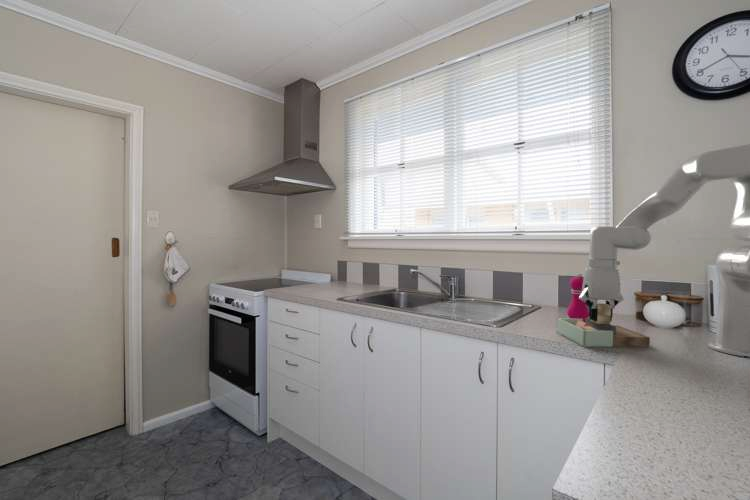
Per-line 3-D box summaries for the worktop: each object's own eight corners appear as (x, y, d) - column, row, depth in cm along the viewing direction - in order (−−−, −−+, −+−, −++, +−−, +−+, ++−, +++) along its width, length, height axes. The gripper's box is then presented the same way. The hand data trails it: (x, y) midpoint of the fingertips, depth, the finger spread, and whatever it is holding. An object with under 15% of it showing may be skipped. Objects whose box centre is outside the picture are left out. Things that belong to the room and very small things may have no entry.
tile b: (584, 323, 119) (578, 320, 119) (592, 326, 115) (585, 322, 115) (578, 333, 119) (572, 329, 119) (585, 337, 115) (579, 333, 115)
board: (617, 334, 121) (618, 325, 121) (649, 347, 107) (649, 337, 107) (583, 333, 121) (583, 325, 121) (610, 346, 107) (610, 336, 107)
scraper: (595, 325, 119) (596, 301, 119) (617, 334, 108) (618, 307, 108) (583, 325, 119) (584, 300, 119) (604, 334, 108) (605, 307, 108)
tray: (581, 332, 122) (582, 318, 122) (612, 347, 106) (613, 331, 106) (556, 332, 122) (556, 318, 122) (583, 347, 106) (584, 330, 106)
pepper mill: (592, 327, 129) (594, 274, 128) (573, 327, 129) (575, 273, 128) (581, 322, 136) (583, 272, 135) (563, 322, 136) (564, 271, 136)
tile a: (589, 325, 113) (581, 326, 113) (596, 329, 109) (588, 330, 109) (590, 338, 113) (582, 338, 113) (597, 341, 109) (589, 342, 109)
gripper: (620, 263, 116) (617, 317, 117) (570, 263, 117) (568, 317, 117) (637, 265, 109) (634, 323, 110) (583, 265, 109) (581, 322, 110)
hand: (600, 319), depth 114 cm, fingers closed on scraper, 4 cm apart
